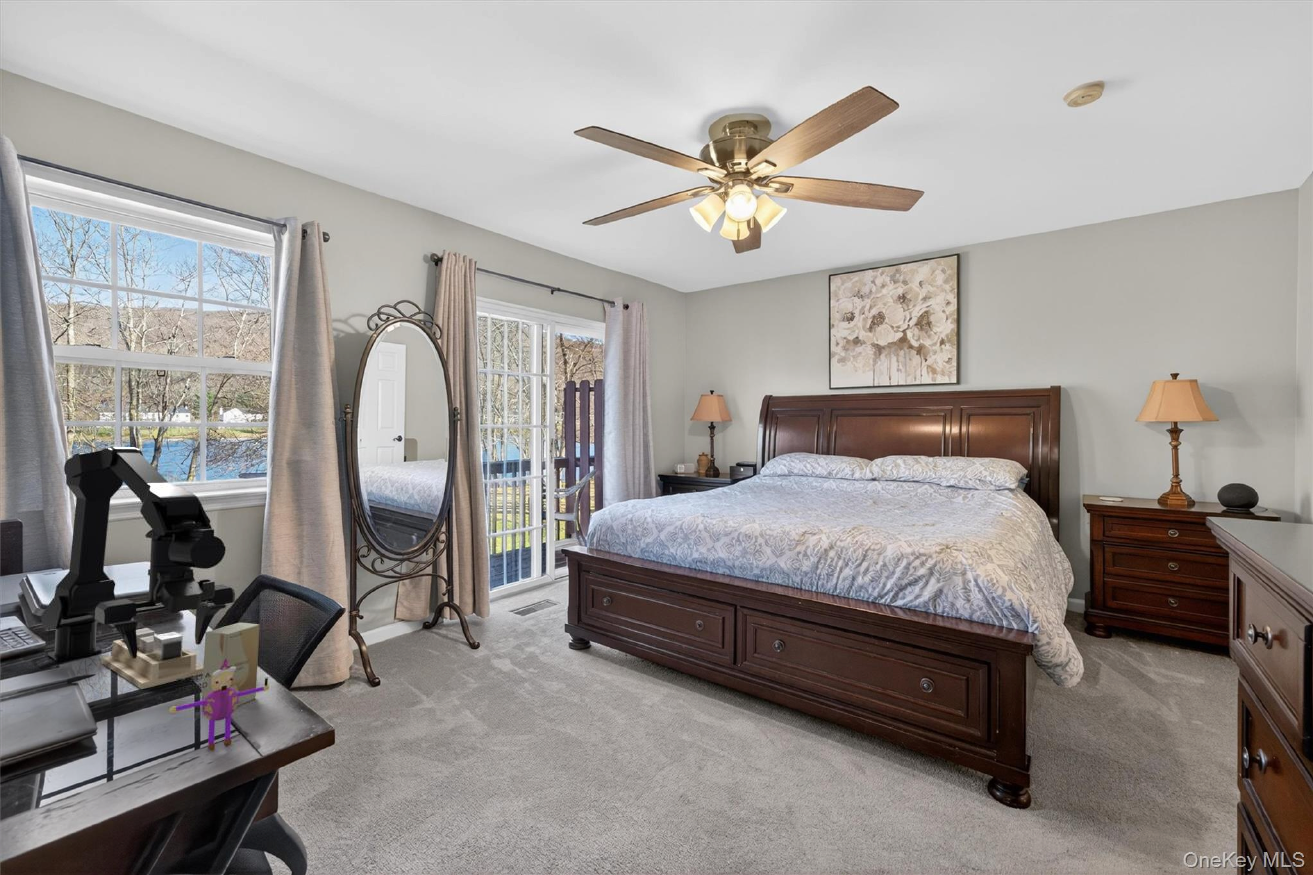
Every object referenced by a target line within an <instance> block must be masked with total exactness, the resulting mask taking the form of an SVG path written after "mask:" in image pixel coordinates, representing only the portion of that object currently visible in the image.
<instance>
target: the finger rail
mask: <svg viewBox="0 0 1313 875" xmlns="http://www.w3.org/2000/svg"><path fill="white" fill-rule="evenodd" d="M155 632H156V631H154V630H152V629H150V628H148V627H145V628H139V629H136V637H137V658H135V659H133V658H132V657H131V655H130V653H129V651H128V649H127V646H126V644H125V642H124V640H123V638H122V639H116V640H112V652H111V653H112V654H111V655H109V656H104V657H102V660H101V664H102V665H104V666H105V667H108V668H109V669H110V670H112V671H114V672H115V673H116V674H118V675H119V676H121V677H123V678H124V679H125V680H127V681H129V682H130V683H131V684H133V685H134V686H136V687H137V688H139V689H141V690H144V689H147V688H152V687H156V686H160V685H164V684H167V683H172V682H175V681H177V680H176V679H179V678H182V680H184V679H185V677H186V679H188V677H189V678H190V676H193V677H195V676H196V677H197V675H198V676H199V674H202V675H203V667H204V665H201V664H199V663H197V653H195V652H192V651H190V650H189V649H186V648H185V647H183V646H182V656H181V657H177V658H172V659H168V660H164V661H159V662H156V661H155V660H153V641H154V636H155V635H160V633H159V634H156V633H155ZM180 680H181V679H179V681H180Z"/></svg>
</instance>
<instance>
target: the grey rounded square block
mask: <svg viewBox="0 0 1313 875" xmlns="http://www.w3.org/2000/svg"><path fill="white" fill-rule="evenodd" d="M159 634H160V633H159ZM159 634H157V635H155V636H154V641H153V660H155V661H156V662H159V661H164V660H168V659H172V658H177V657H181V656H182V647H183V637H184V636H183V634H181V633H178V632H176V631H172V632H167V633H161V634H160V635H159Z"/></svg>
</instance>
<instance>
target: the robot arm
mask: <svg viewBox="0 0 1313 875" xmlns="http://www.w3.org/2000/svg"><path fill="white" fill-rule="evenodd" d="M63 471H64V474H65V477H66V478H65V481H66V482H65V483H66V486H67V487H68V488H69V489H70V491H71V493H72V494H73V495H74V497H75V498H76V500H75V507H74V508H75V510H74V519H73V531H72V539H71V541H72V542H71V550H70V552H71V553H70V560H69V561H70V563H69V571H68V572H67V573H66V574H65V576H64V577H63V578H62V579H61V580H60V581H59V582H58V583H57V584H56V586H55V591H54V597H53V598H52V600H50V602H49V603H48V605H47V606H46V608H45V609H44V611H43V612H42V614H41V615H40V620H41V625H42V627H43V628H48V629H53V630H55V637H54V638H55V640H54V651H53V650H52V651H49V652H48V653H47V654H48V656H49V657H50V658H52V659H53V660H54V661H56V662H60V661H65V660H70V659H75V658H78V657H84V656H88V655H94V654H99V653H102V652H103V649H102V648H100V647H99V646H97V644H96V642H97V641H96V640H97V625H98V624H97V622H99V623H101V624H103V625H109V626H111V627H112V628H116V629H117V631H118V633H119V634H120V636H121V638H122V639H123V640H124V642H125V644H126V646H127V649H128V651H129V653H130V655H131V657H132V658H133V659H135V658H137V637H136V630H137V627H138V623H139V621H137V620H136V619H134V618H135V616H137V614H141V613H147V612H152V611H153V612H154V611H158V610H165V612H166V613H168V614H177V613H180V612H183V611H184V612H185V611H189V610H190V611H191V610H192V611H195V627H194V628H195V629H194V639H195V640H194V641H195V645H201V643H202V641H203V639H204V638H205V634H206V632H207V630H208V628H209V626H210V624H211V622H212V620H213V618H214V617H215V615H216V614H217V613H218V612H219V611H220V610H223V609H226V607H227V604H232V603H235V601H236V592H235V590H234V589H233V587H230V586H227V585H224V584H216V582H215V580H214V579H213V578H211V577H210V578H205V579H200V580H196V579H195V577H194V575H195V572H194V569H195V568H196V569H211V568H214V567H216V566H217V565H219V564H220V563H221V561H222V560H223V558H224V557H225V555H226V552H227V551H226V549H227V548H226V546H225V543H224V542H223V540H222V539H221V538H220V537H218V536H216V535H215V529H213V527H212V525H211V520H210V518H209V516H208V515H207V513H206V510H205V508H204V506H203V504H202V502H201V501H200V499H199V497H198V496H197V495H196V494H194V493H193V492H191V491H189V490H188V489H186V488H184V487H183V488H182V487H180V486H177V485H174V484H171V483H170V482H169V481H168V480H167V479H166V478H165V477H164V476H163V475H162V474H161V473H160V472H159V471H158V470H157V469H156V468H155V467H154V466H153V465H152V464H151V463H150V462H149V461H148V460H147V459H146V458H145V457H144V454H143V451H142V450H141V449H140V448H136V447H132V446H131V447H129V446H127V447H123V446H110V447H108V448H106V447H105V448H103V449H101V450H96V451H92V452H86V453H85V452H83V453H82V452H81V453H80V452H79V453H77V452H76V453H75V454H73V455H72V456H71V458H68V459H67V460H66V461H65V462H64V466H63ZM123 484H125V486H127V487H128V488H129V490H130V491H132V492H133V494H135V496H136V497H137V498H138V500H140V502H141V503H142V504H141V507H140V510H139V512H140V514H141V515H142V517H143V519H144V521H145V522H146V523H147V524H148V526H149V527H150V528H151V529H150V530H149V531H147V533H145V538H146V539H151V540H150V564H149V565H150V566H149V569H147V576H149V580H148V581H149V584H148V592H146V599H148V600H143V601H137V602H134V601H132V600H130V599H127V598H123V599H121V598H120V599H116V596H115V589H116V588H115V587H116V582H115V580H113V579H110V577H109V576H108V575H107V574H106V572H105V570H104V568H105V558H106V548H107V537H108V529H109V528H108V527H109V518H110V517H109V516H110V508H111V506H110V505H111V499H112V497H114V495H115V494H116V493H117V492H118V491H119V490H120V489H121V488H122V486H123ZM193 568H194V569H193ZM115 599H116V600H115Z"/></svg>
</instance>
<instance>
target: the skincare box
mask: <svg viewBox="0 0 1313 875" xmlns="http://www.w3.org/2000/svg"><path fill="white" fill-rule="evenodd" d="M204 638H205V639H204V650H203V654H204V655H203V674H202V677H203V678H202V681H201V684H202V683H203V687H204V688H202V687H201V700H200V701H203V700H205V698H206V696H207V695H208V694H209V693H210V692H211V691H213V689H212V686H211V680H212V678H213V676H212V674H213V673H214V672H216V671H217V670H220V668H221V666H222V664H223V662H224V660H225V658H226V660H227V661H228V663H229V665H230V667H236V670H235V671H234V674H233V677H232V678H233V680H232V682H231V685H230V686H229V687H231V688H233V689H234V690H235V691H236V692H237V693H238V692H242V691H247V690H251V689H255V688H257V682H258V680H257V679H258V659H259V642H260V641H259V640H260V624H259V623H258V624H257V623H249V622H237V623H233V624H230V625H226V626H222V627H219V628H216V629H211V630H210V631H209V630H208V631H206V633H205V635H204ZM207 673H209V675H210V677H209V676H208V675H207ZM206 675H207V677H206ZM205 677H206V678H205ZM204 682H206V683H207V686H206V683H204ZM205 686H206V687H205ZM255 697H256V698H257V692H255V693H251V694H247V695H243V696H239V697H238V698H239V701H238V705H237V707H238V706H240V705H241V706H242V705H243V704H245V703H248V702H250V701H252V700H255V699H256V698H255ZM254 698H255V699H254ZM200 710H201V711H202V705H200Z"/></svg>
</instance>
